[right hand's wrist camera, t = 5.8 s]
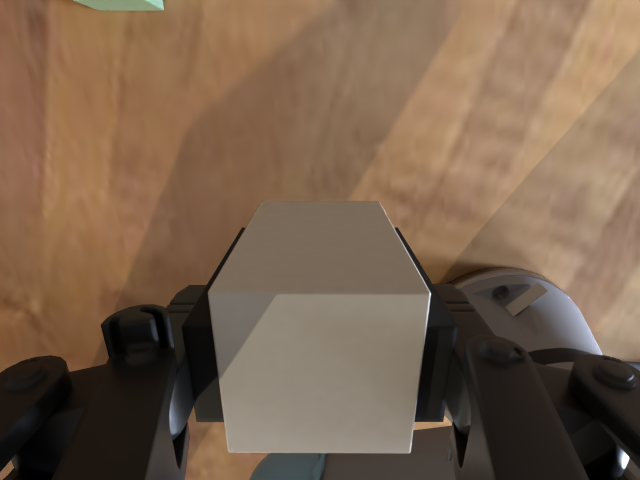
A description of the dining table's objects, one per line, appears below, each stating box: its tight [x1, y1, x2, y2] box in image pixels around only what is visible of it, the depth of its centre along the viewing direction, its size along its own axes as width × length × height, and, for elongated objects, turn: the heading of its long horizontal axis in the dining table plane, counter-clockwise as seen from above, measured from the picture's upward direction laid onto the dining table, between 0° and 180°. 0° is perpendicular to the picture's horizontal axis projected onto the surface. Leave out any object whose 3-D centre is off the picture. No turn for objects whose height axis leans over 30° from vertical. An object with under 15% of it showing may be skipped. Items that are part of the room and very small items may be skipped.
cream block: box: [208, 201, 431, 453], centre depth 11 cm, size 4×4×7 cm
